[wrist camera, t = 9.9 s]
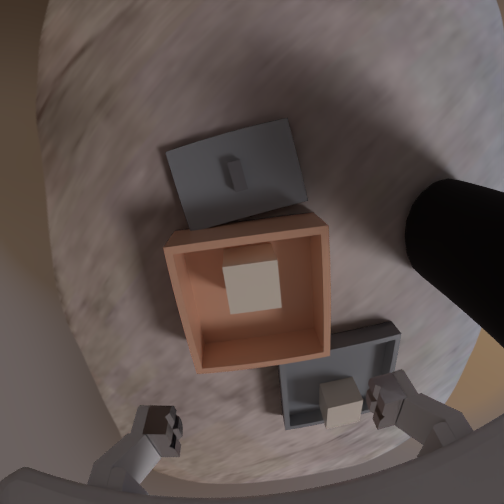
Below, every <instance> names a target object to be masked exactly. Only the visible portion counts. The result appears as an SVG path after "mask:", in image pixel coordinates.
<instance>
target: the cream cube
mask: <svg viewBox="0 0 504 504" xmlns="http://www.w3.org/2000/svg"><path fill="white" fill-rule="evenodd" d="M222 268H223V274H224V280H225V286H226V292H227V297H228V303H229V309H230V314H238V313H246V312H254V311H261V310H269V309H276V308H282V305H281V294H280V283H279V272H278V262H277V258H276V255H275V252H274V250H273V247H272V244H271V243H268V244H260V245H253V246H245V247H238V248H230V249H224V255H223V265H222Z"/></svg>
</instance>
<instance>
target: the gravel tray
mask: <svg viewBox="0 0 504 504" xmlns="http://www.w3.org/2000/svg"><path fill="white" fill-rule="evenodd" d="M400 338H401V333H400V331H399V330H398V329H397V328H396V326H395V325H394V324H393V323H392V321H391V322H387V323H382V324H378V325H374V326H369V327H365V328H360V329H355V330H351V331H346V332H341V333H336V334H331V337H330V356H327V357H322V358H317V359H311V360H306V361H300V362H294V363H288V364H281V365H278V372H279V382H280V392H281V402H282V412H283V419H284V425H285V430H289V429H295V428H301V427H306V426H312V425H317V424H322V423H324V420H323V417H322V414H321V410H320V407H319V387H320V384H321V383H326V382H331V381H336V380H340V379H345V378H349V377H353V379H354V381H355V383H356V385H357V387H358V390H359V392H360V394H361V396H362V398H363V405H362V410H361V414H364V413H367V412H370V411H369V409H368V406H367V403H366V393H367V390H368V389H369V386H368V382H369V379H370V378H373V377H377V376H380V375H384V374H387V373H391V372H394V370H395V365H396V360H397V355H398V350H399V344H400Z"/></svg>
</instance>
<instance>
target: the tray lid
mask: <svg viewBox="0 0 504 504" xmlns="http://www.w3.org/2000/svg"><path fill="white" fill-rule="evenodd" d="M166 156H167V159H168V162H169V166H170V169H171V172H172V176H173V179H174V182H175V185H176V188H177V192H178V195H179V198H180V201H181V204H182V207H183V210H184V213H185V217H186V220H187V223H188V226H189V229H190V231H194V230H201V229H206V228H209V227H213V226H216V225H220V224H223V223H227V222H231V221H234V220H238V219H241V218H245V217H249V216H252V215H256V214H259V213H263V212H267V211H271V210H274V209H278V208H282V207H286V206H289V205H293V204H297V203H301V202H305V201H308V198H307V194H306V190H305V185H304V181H303V177H302V173H301V169H300V165H299V161H298V157H297V153H296V149H295V145H294V141H293V137H292V133H291V130H290V126H289V122H288V119H287V118H284V119H280V120H275V121H271V122H267V123H263V124H259V125H255V126H251V127H247V128H243V129H239V130H235V131H232V132H228V133H225V134H221V135H218V136H214V137H211V138H207V139H204V140H201V141H198V142H194V143H191V144H188V145H185V146H182V147H179V148H176V149H173V150H170V151H167V152H166Z"/></svg>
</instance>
